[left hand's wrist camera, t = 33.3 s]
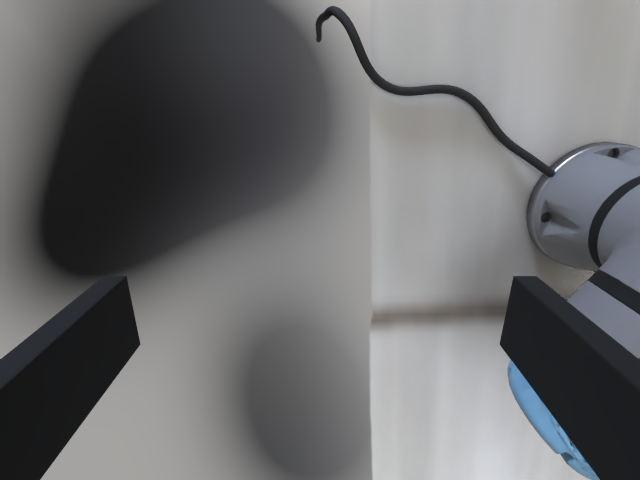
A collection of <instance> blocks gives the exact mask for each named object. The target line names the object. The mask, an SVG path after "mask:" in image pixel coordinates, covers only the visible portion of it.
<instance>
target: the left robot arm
mask: <svg viewBox="0 0 640 480" xmlns="http://www.w3.org/2000/svg"><path fill="white" fill-rule="evenodd" d="M331 16H335V17H336V18H337V19H338V20H339V21H340V22H341V23H342V24H343V26H344V27H345V29H346V31H347V33H348V35H349V37H350V39H351V41H352V44H353V46H354V49H355V51H356V54H357V56H358V58H359V60H360V63H361V64H362V67H363V68H364V70H365V72H366V73H367V75H368V76H369V77H370V79H371V80H372V81H373V82H374V83H375V84H377V85H378V86H379V87H381V88H382V89H384V90H386V91H388V92H390V93H393V94H397V95H406V96H412V95H424V94H434V93H445V94H451V95H455V96H457V97H460V98H461V99H463V100H465V101H466V102H468V103H469V104H470V105H471V106H472V107H473V108H474V109H475V110H476V111H477V112H478V113H479V115H480V116H481V117H482V119H483V120H484V122H485V123H486V124H487V126H488V127H489V129H490V130H491V132H492V133H493V134H494V135H495V137H496V138H497V139H498V140H499V141H500V142H501V143H502V144H503V145H504V146H506V147H507V148H508V149H509V150H511V151H512V152H514V153H515V154H516V155H518V156H520V157H521V158H523V159H524V160H526V161H527V162H528V163H530V164H531V165H533V166H534V167H535V168H537V169H538V170H540V171H541V172H542V173H544V174H543V176H542V177H541V178H540V180H539V181H538V183H537V185H536V186H535V188H534V190H533V192H532V195H531V197H530V200H529V204H528V210H527V225H528V230H529V233H530V236H531V238H532V240H533V242H534V243H535V245H536V246H537V247H538V248H539V249H540V250H541V251H542V252H543V253H545V254H546V255H547V256H549V257H550V258H552V259H553V260H555V261H557V262H559V263H561V264H564V265H567V266H570V267H575V268H580V269H586V270H592V271H594V272H595V273H594V274H593V275H592V276H591V277H590V278H589V279H588V280H587V281H586V282H585V283H584V284H583V285H582V286H581V287H580V288H579V289H578V290H577V291H576V292H575V293H574V294H573V295H572V296H571V297H570V298H569V299H568V300H567V301H566V300H565V299H564V298H563V297H561V296H560V295H559V294H558V293H556V292H555V291H554V290H553V289H551V288H550V287H549V286H548V285H546V284H545V283H544V282H543V281H541V280H540V279H539V278H538V277H536V276H514V277H513V282H512V287H511V292H510V296H509V301H508V306H507V311H506V316H505V321H504V326H503V331H502V336H501V341H500V345H501V347H502V348H503V349H504V351H505V352H506V354H507V355H508V356H509V358H510V359H511V361H510V363H509V366H508V378H509V384H510V388H511V390H512V393H513V395H514V397H515V399H516V401H517V403H518V404H519V406H520V408H521V410H522V411H523V413H524V414H525V416H526V417H527V419H528V420H529V422H530V423H531V424H532V426H533V427H534V428H535V430H536V431H537V432H538V434H539V435H540V436H541V437H542V439H543V440H544V441H545V442H546V443H547V444H548V445H549V447H550V448H551V449H552V450H553V451H554V452H555V453H557V454H561V456H562V457H563V459H564V460H565V462H566V463H567V464H568V465H569V466H570V467H572V468H573V469H574V470H575V471H577V472H578V473H580V474H581V475H583V476H585V477H587V478H589V479H591V480H640V148H637V147H635V146H631V145H626V144H618V143H609V142H604V143H595V144H590V145H586V146H583V147H580V148H578V149H576V150H574V151H572V152H570V153H568V154H566V155H565V156H563V157H562V158H560V159H559V160H558V161H556V162H555V163H554V164H553V165H552V166H551V167H548V166H547V165H546V164H544V163H543V162H541V161H540V160H539V159H537V158H536V157H534V156H533V155H532V154H530V153H529V152H527V151H526V150H524V149H523V148H521V147H520V146H518V145H517V144H515V143H514V142H513V141H512V140H510V139H509V138H508V137H507V136H506V135H505V134H504V132H503V131H502V130H501V129H500V128H499V126H498V125H497V123H496V122H495V120H494V119H493V118H492V116H491V115H490V113H489V112H488V110H487V109H486V108H485V106H484V105H483V104H482V103H481V102H480V101H479V100H478V99H477V98H476V97H474V96H473V95H472V94H470V93H469V92H467V91H465V90H463V89H460V88H458V87H454V86H449V85H430V86H421V87H400V86H396V85H393V84H391V83H389V82H387V81H385V80H384V79H383V78H381V77H380V76H379V75H378V73H377V72H376V71H375V70H374V68H373V67H372V65H371V63H370V61H369V59H368V57H367V55H366V53H365V50H364V48H363V45H362V43H361V40H360V38H359V36H358V33H357V31H356V29H355V27H354V25H353V23H352V22H351V20H350V19H349V17H348V16H347V15H346V14H345V12H343V11H342V10H341V9H340V8H338V7H336V6H330V7H328V8H327V9H326V10H325V11H324V12H323V13H322V14H320V15H319V17H318V18H317V20H316V41H317V42H320V41H321V39H322V24H323V22H324V21H326V20H328V19H329V18H330V17H331ZM597 286H598V287H597ZM139 345H140V341H139V336H138V331H137V326H136V321H135V316H134V311H133V306H132V301H131V297H130V292H129V287H128V282H127V277H126V276H104V277H102V278H101V279H100V280H99V281H97V282H96V283H95V284H94V285H92V286H91V287H90V288H89V289H88V290H86V291H85V292H84V293H82V294H81V295H80V296H79V297H77V298H76V299H75V300H74V301H73V302H71V303H70V304H69V305H68V306H66V307H65V308H64V309H63V310H61V311H60V312H59V313H58V314H56V315H55V316H54V317H53V318H51V319H50V320H49V321H48V322H47V323H45V324H44V325H43V326H42V327H40V328H39V329H38V330H37V331H35V332H34V333H33V334H32V335H30V336H29V337H28V338H27V339H25V340H24V341H23V342H22V343H20V344H19V345H18V346H17V347H15V348H14V349H13V350H12V351H11V352H9V353H8V354H7V355H6V356H4V357H3V358H2V359H0V480H40V479H41V478H42V476H43V475H44V474H45V472H46V471H47V470H48V468H49V467H50V465H51V464H52V463H53V461H54V460H55V459H56V457H57V456H58V455H59V453H60V452H61V451H62V449H63V448H64V447H65V445H66V444H67V443H68V441H69V440H70V438H71V437H72V436H73V434H74V433H75V432H76V430H77V429H78V428H79V426H80V425H81V424H82V422H83V421H84V420H85V418H86V417H87V415H88V414H89V413H90V412H91V410H92V409H93V408H94V406H95V405H96V403H97V402H98V401H99V399H100V398H101V397H102V395H103V394H104V393H105V391H106V390H107V389H108V387H109V386H110V385H111V383H112V382H113V380H114V379H115V378H116V376H117V375H118V374H119V372H120V371H121V370H122V368H123V367H124V366H125V364H126V363H127V362H128V360H129V359H130V358H131V356H132V355H133V354H134V352H135V351H136V349H137V348H138V347H139Z"/></svg>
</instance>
